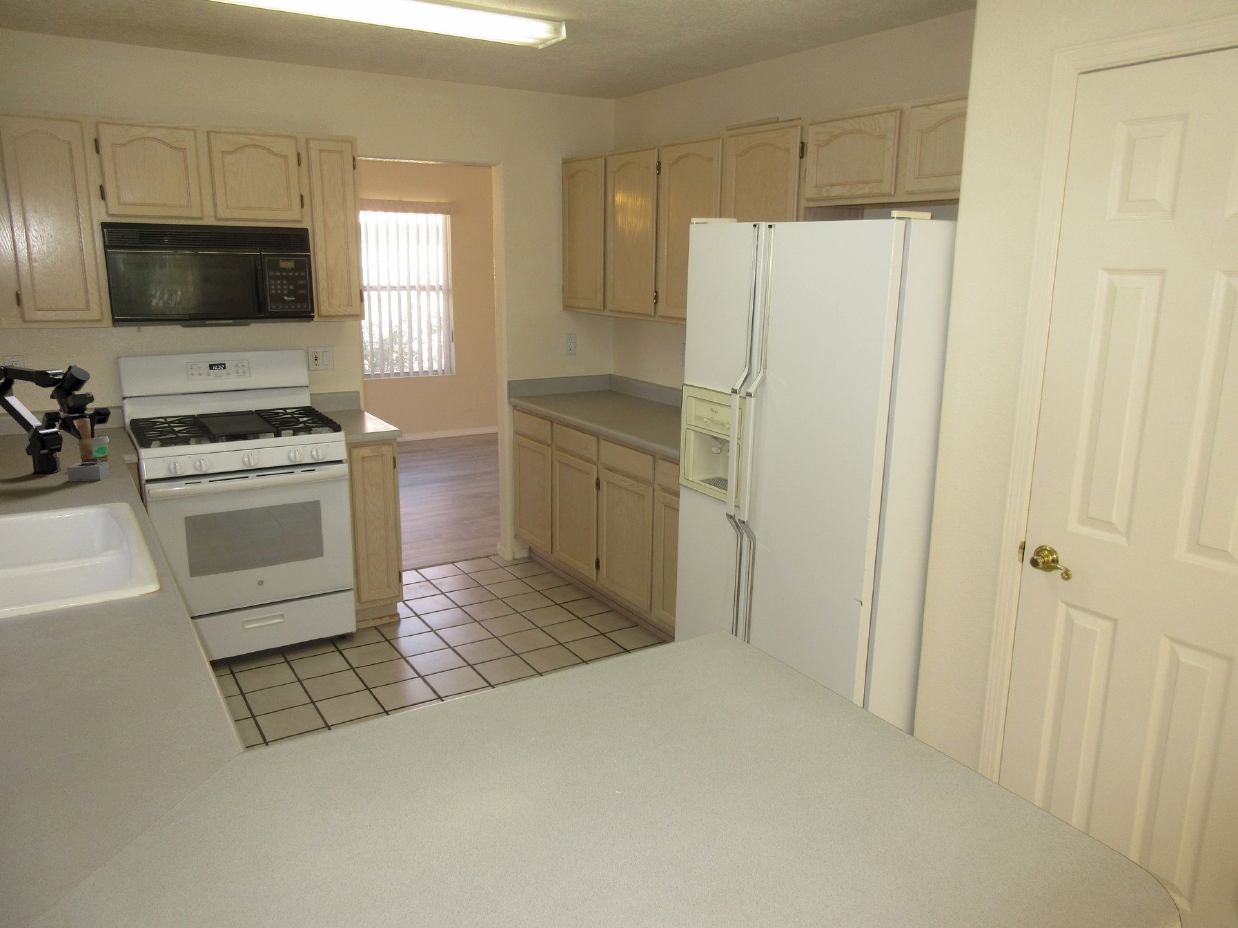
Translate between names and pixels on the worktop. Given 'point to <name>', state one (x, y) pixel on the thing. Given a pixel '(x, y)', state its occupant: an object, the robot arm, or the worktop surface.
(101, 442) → the food container
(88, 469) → the block
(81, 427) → the dowel
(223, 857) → the worktop surface
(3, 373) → the robot arm
